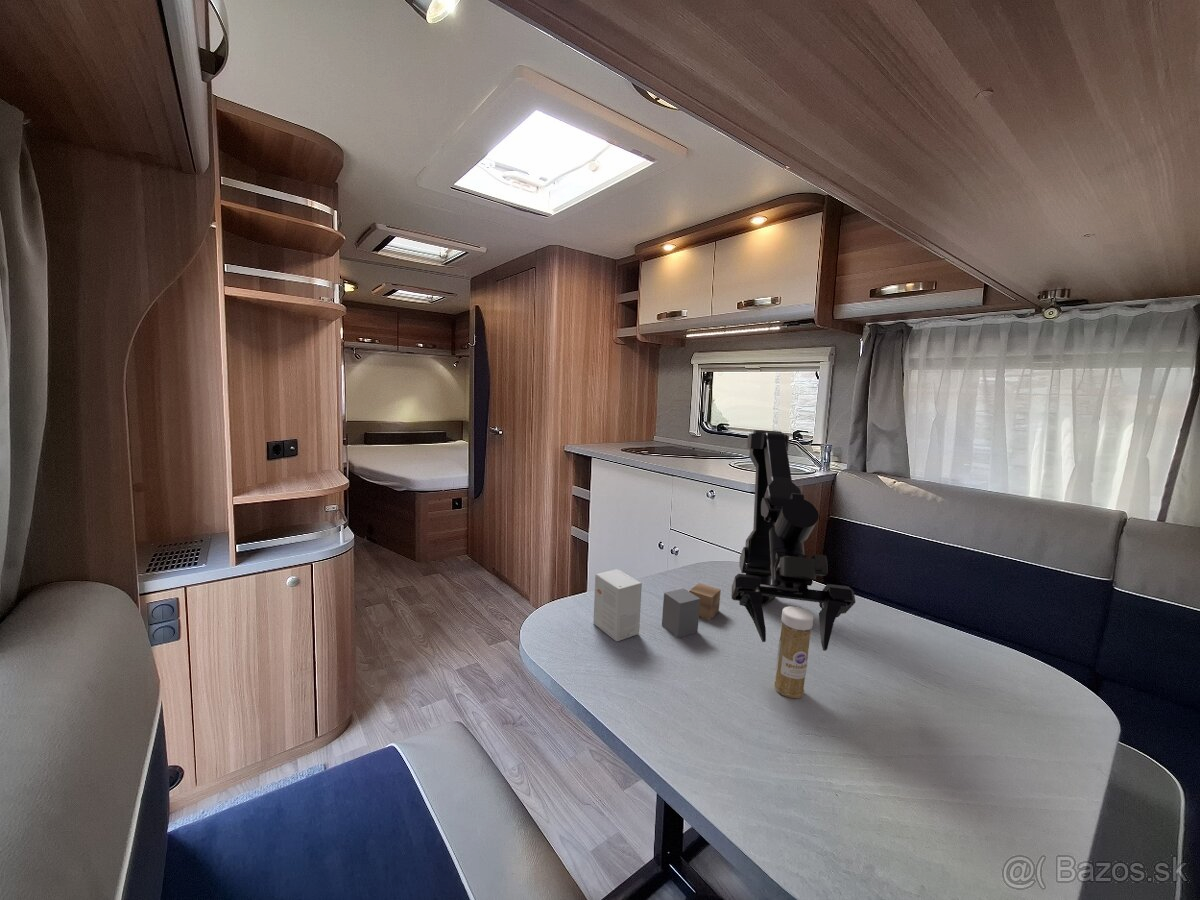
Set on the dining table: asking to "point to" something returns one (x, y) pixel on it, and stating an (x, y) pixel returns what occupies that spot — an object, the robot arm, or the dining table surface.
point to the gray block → (680, 612)
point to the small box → (617, 604)
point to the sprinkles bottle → (793, 651)
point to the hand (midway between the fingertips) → (794, 645)
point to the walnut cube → (707, 599)
